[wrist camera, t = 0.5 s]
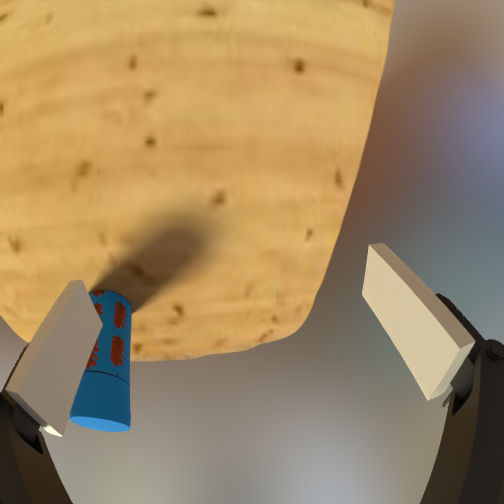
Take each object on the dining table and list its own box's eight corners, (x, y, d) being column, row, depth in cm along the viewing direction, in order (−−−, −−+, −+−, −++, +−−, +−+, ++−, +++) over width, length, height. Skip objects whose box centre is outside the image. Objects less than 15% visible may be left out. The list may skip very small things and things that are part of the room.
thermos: (76, 290, 46) (57, 413, 28) (124, 287, 48) (117, 418, 30) (94, 322, 53) (86, 429, 35) (137, 320, 55) (139, 432, 37)
